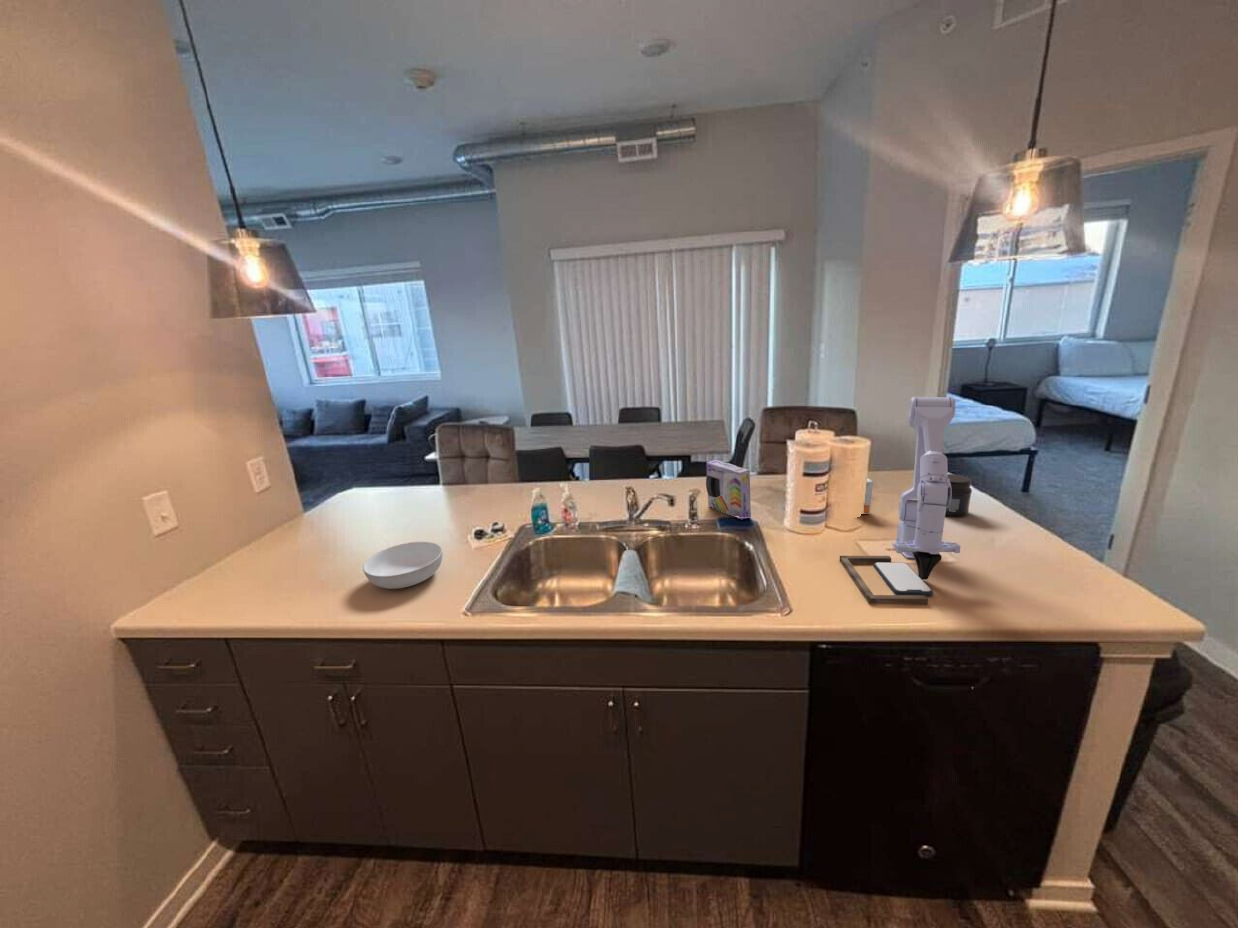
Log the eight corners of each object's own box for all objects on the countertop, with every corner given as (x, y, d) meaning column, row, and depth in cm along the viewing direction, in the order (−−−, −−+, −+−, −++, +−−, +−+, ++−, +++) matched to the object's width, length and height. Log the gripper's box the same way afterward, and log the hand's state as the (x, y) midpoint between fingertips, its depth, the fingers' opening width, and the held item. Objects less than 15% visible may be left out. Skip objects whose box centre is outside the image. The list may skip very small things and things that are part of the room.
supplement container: (967, 509, 168) (972, 475, 165) (969, 520, 159) (974, 484, 156) (930, 504, 173) (934, 472, 170) (930, 515, 165) (935, 481, 161)
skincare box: (851, 515, 168) (853, 481, 165) (847, 510, 172) (850, 477, 169) (870, 515, 167) (873, 481, 164) (866, 510, 171) (868, 477, 168)
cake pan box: (705, 506, 184) (704, 460, 179) (715, 503, 186) (715, 457, 181) (740, 522, 168) (741, 472, 163) (751, 519, 170) (752, 469, 165)
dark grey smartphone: (871, 567, 135) (895, 597, 120) (871, 561, 135) (896, 591, 120) (906, 567, 134) (934, 598, 119) (906, 561, 134) (935, 592, 118)
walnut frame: (839, 560, 138) (839, 555, 138) (888, 560, 137) (889, 555, 136) (869, 603, 117) (869, 598, 117) (927, 604, 116) (928, 598, 116)
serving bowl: (371, 570, 148) (366, 550, 146) (444, 556, 155) (441, 536, 153) (363, 605, 129) (358, 582, 127) (447, 587, 136) (443, 564, 134)
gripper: (905, 535, 119) (899, 585, 123) (970, 534, 117) (962, 585, 121) (893, 523, 126) (887, 571, 129) (954, 522, 124) (947, 571, 128)
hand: (923, 577), depth 126 cm, fingers closed
